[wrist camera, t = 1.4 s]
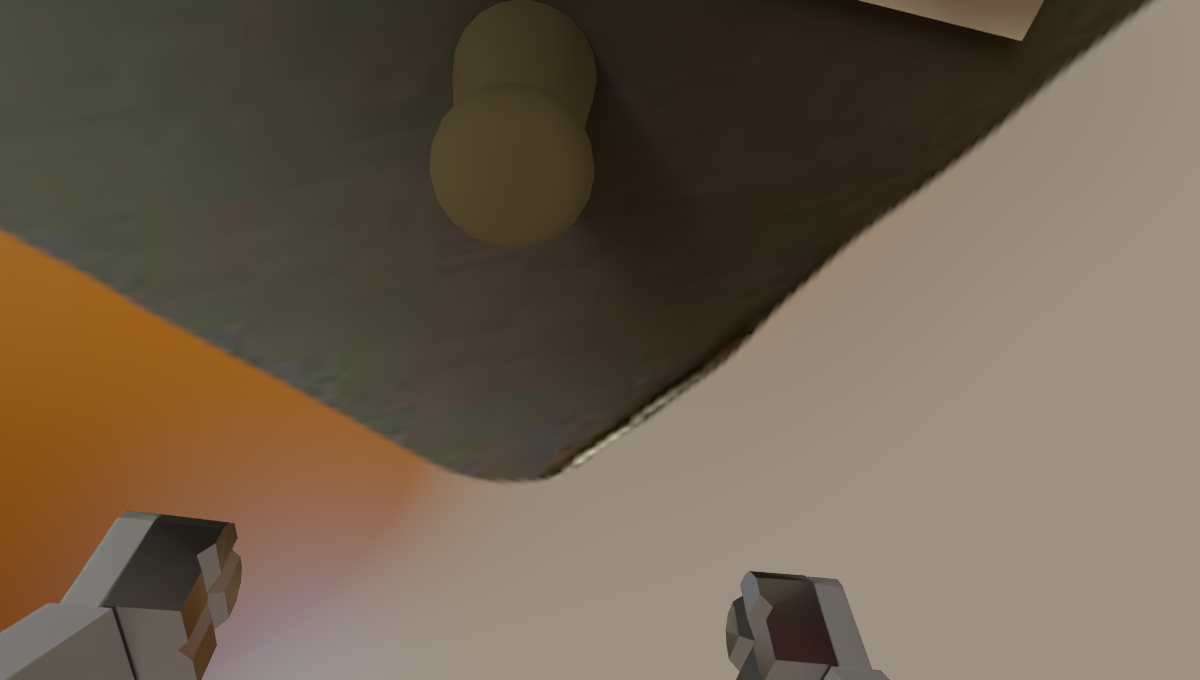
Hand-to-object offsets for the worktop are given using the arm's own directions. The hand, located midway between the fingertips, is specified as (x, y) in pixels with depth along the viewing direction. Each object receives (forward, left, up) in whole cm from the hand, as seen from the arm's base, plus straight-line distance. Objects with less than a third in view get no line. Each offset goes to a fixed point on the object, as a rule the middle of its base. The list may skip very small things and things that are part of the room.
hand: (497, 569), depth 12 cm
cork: (0, -1, -24) cm, 24 cm away
